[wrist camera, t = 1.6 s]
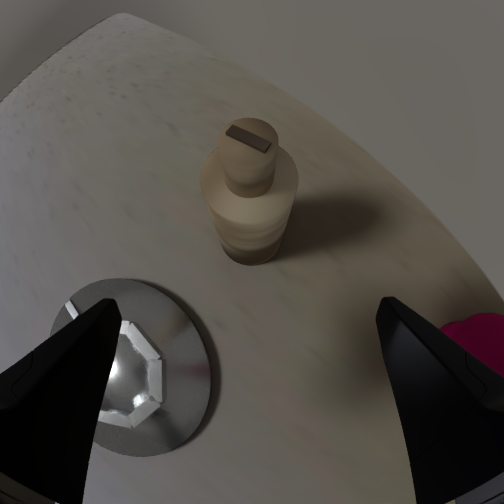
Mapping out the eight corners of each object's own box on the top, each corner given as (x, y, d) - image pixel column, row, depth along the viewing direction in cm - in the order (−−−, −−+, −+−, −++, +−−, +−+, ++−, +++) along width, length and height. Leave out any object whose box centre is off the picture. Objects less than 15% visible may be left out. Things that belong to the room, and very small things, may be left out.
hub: (253, 382, 20) (253, 387, 18) (130, 479, 18) (121, 488, 16) (128, 243, 23) (118, 236, 21) (30, 350, 20) (17, 351, 18)
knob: (292, 226, 23) (327, 125, 11) (261, 277, 22) (270, 214, 10) (241, 197, 24) (231, 83, 12) (208, 245, 23) (163, 156, 11)
